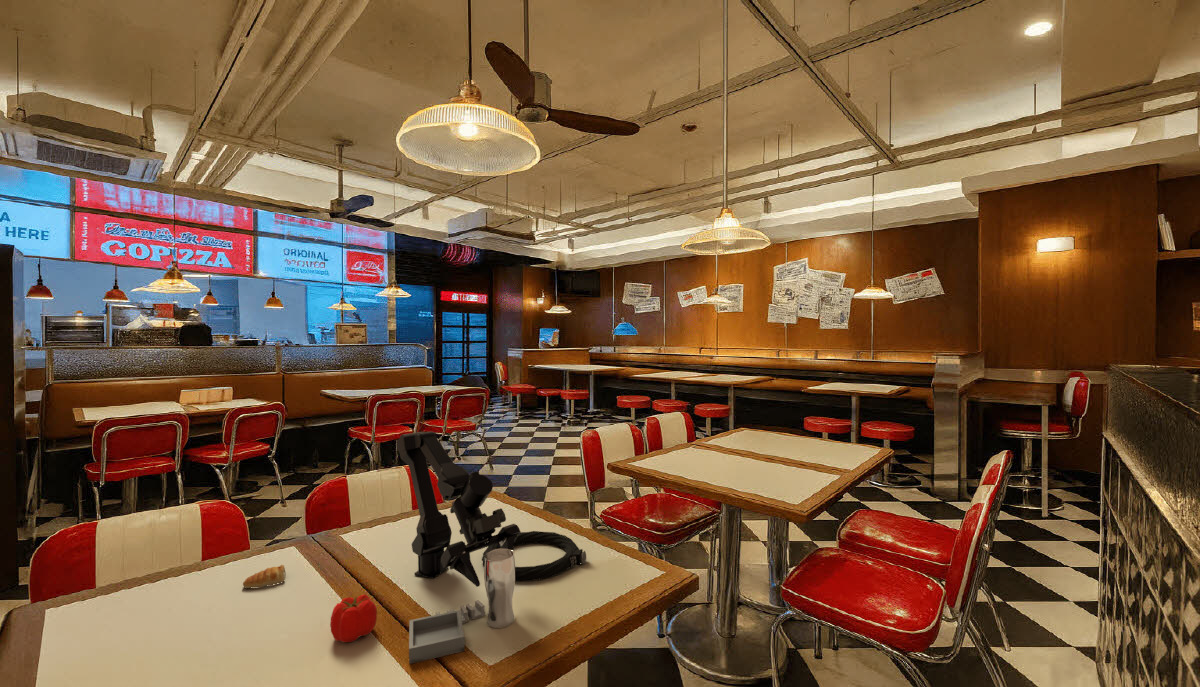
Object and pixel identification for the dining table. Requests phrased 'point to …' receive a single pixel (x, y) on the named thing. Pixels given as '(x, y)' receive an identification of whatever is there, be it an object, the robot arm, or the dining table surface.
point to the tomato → (353, 618)
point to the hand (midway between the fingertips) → (496, 578)
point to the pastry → (266, 577)
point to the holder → (435, 636)
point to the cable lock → (550, 569)
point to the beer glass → (500, 586)
